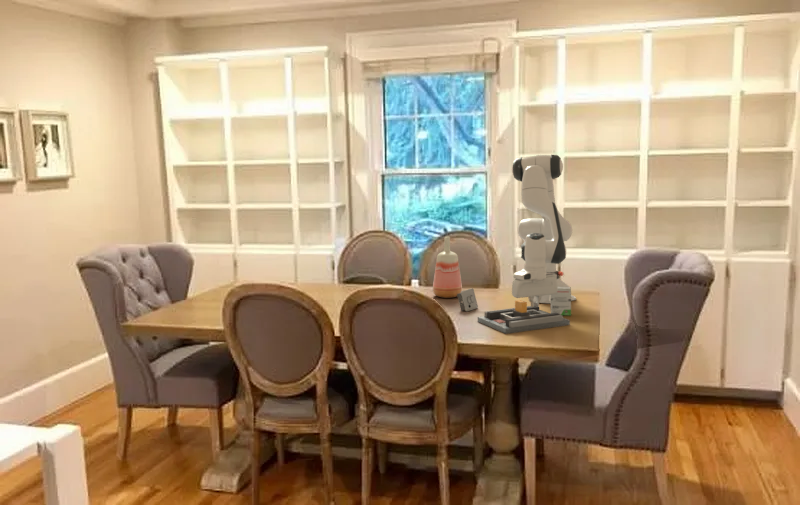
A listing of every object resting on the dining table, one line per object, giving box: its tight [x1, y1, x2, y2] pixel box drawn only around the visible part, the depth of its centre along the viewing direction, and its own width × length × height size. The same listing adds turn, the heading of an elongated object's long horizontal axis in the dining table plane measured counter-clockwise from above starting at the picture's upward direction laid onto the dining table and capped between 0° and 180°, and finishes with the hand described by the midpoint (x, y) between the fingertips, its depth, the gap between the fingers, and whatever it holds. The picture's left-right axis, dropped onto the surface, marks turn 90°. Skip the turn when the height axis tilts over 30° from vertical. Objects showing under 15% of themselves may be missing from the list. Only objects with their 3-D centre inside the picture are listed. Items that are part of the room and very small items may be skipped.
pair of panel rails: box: [483, 305, 564, 328], centre depth 272 cm, size 24×21×2 cm
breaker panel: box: [477, 309, 571, 334], centre depth 273 cm, size 30×22×4 cm
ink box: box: [550, 286, 572, 316], centre depth 286 cm, size 9×5×12 cm, turn 76°
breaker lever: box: [513, 299, 529, 317], centre depth 272 cm, size 4×6×7 cm, turn 23°
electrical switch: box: [457, 287, 479, 312], centre depth 300 cm, size 9×5×9 cm, turn 141°
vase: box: [432, 236, 463, 299], centre depth 327 cm, size 14×14×30 cm
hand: (534, 306), depth 274 cm, fingers closed
